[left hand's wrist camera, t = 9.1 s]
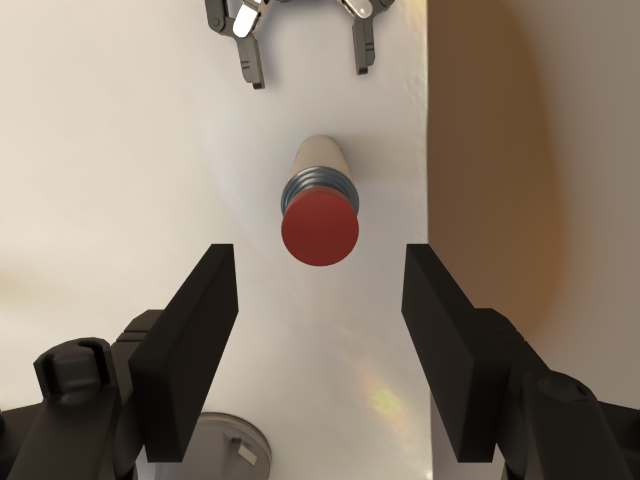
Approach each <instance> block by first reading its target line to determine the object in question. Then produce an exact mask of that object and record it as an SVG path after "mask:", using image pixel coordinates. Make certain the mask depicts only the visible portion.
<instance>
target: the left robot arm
mask: <svg viewBox="0 0 640 480" xmlns="http://www.w3.org/2000/svg"><path fill="white" fill-rule="evenodd" d="M238 312H239V309H238V297H237V285H236V273H235V260H234V248H233V244H211V246H210V247H209V248H208V250H207V251H206V253H205V254H204V255H203V257H202V258H201V260H200V261H199V262H198V264H197V265H196V266H195V268H194V269H193V271H192V272H191V273H190V275H189V276H188V278H187V279H186V280H185V282H184V283H183V284H182V286H181V287H180V289H179V290H178V291H177V293H176V294H175V296H174V297H173V298H172V300H171V301H170V302H169V304H168V305H167V307H166V308H165V309H164V310H147V311H145V312H144V313H142V314H141V315H139V316H138V317H136V318H134V319H133V320H132V321H131V323H130V324H129V325H128V326H127V327H126V329H125V330H124V333H121V335H120V336H119V337H118V338H117V339H116V342H114V343H113V344H112V345H111V347H110V344H109V343H108V342H107V341H105V340H104V339H100V338H95V337H90V338H79V339H75V340H71V341H67V342H64V343H62V344H59V345H57V346H55V347H52V348H51V349H49V350H48V351H46V352H45V353H43V354H42V355H40V356H39V357H38V359H37V360H36V361H35V362H34V363H33V365H34V368H35V371H36V375H37V378H38V381H39V385H40V388H41V391H42V395H43V398H44V399H43V401H42V403H38V404H35V405H30V406H25V407H21V408H16V409H11V410H7V411H2V412H1V410H0V480H138V474H137V468H136V463H135V461H136V459H137V457H138V455H139V453H140V451H141V449H142V447H143V445H145V450H146V455H147V460H148V463H156V469H155V480H268V477H269V472H270V465H271V452H270V448H269V446H268V443H267V441H266V440H265V438H264V437H263V436H262V434H261V433H260V432H259V431H258V430H257V429H255V428H254V427H253V426H251V425H250V424H248V423H247V422H245V421H243V420H241V419H238V418H236V417H232V416H229V415H224V414H216V413H207V414H200V413H201V410H202V408H203V405H204V402H205V400H206V397H207V394H208V392H209V389H210V386H211V384H212V381H213V378H214V376H215V373H216V370H217V368H218V365H219V362H220V360H221V357H222V354H223V352H224V349H225V346H226V344H227V341H228V338H229V336H230V333H231V330H232V328H233V325H234V322H235V320H236V317H237V314H238ZM401 312H402V314H403V317H404V320H405V322H406V325H407V328H408V330H409V333H410V336H411V338H412V341H413V344H414V346H415V349H416V352H417V354H418V357H419V360H420V362H421V365H422V368H423V370H424V373H425V376H426V378H427V381H428V384H429V386H430V389H431V392H432V394H433V397H434V400H435V402H436V405H437V408H438V410H439V413H440V416H441V418H442V421H443V424H444V426H445V429H446V432H447V434H448V437H449V440H450V442H451V445H452V448H453V450H454V453H455V456H456V458H457V461H458V462H459V463H492V460H493V455H494V450H495V445H496V443H497V445H498V447H499V449H500V451H501V453H502V455H503V457H504V459H505V463H504V468H503V473H502V477H501V480H640V410H637V409H632V408H628V407H623V406H618V405H614V404H608V403H604V402H601V401H598V400H597V398H596V397H595V395H594V394H593V393H592V391H591V390H590V389H589V388H588V387H586V386H585V385H584V384H582V383H581V382H580V381H578V380H576V379H574V378H572V377H570V376H568V375H566V374H563V373H559V372H556V371H552V370H550V369H549V368H548V367H547V365H546V364H545V363H544V362H543V360H542V359H541V358H540V357H539V356H538V355H537V353H536V352H535V351H534V350H533V349H532V347H531V346H530V345H529V344H528V342H527V341H524V338H523V336H522V335H521V334H520V333H519V332H518V331H516V328H515V327H514V326H513V325H512V323H511V322H510V321H509V320H508V319H507V318H506V317H505V316H503V315H502V314H500V313H498V312H497V311H495V310H494V309H492V308H474V307H473V305H472V304H471V303H470V301H469V300H468V298H467V297H466V296H465V294H464V293H463V291H462V290H461V289H460V287H459V286H458V284H457V283H456V282H455V280H454V279H453V278H452V276H451V275H450V273H449V272H448V271H447V269H446V268H445V267H444V265H443V264H442V262H441V261H440V260H439V258H438V257H437V255H436V254H435V253H434V251H433V250H432V248H431V247H430V246H429V244H407V248H406V260H405V272H404V285H403V297H402V309H401Z"/></svg>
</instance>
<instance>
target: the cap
mask: <svg viewBox="0 0 640 480" xmlns="http://www.w3.org/2000/svg"><path fill="white" fill-rule="evenodd" d="M281 233H282V238H283V242H284V244H285V246H286V248H287V250H288V251H289V252H290V253H291V254H292V255H293V256H294V257H295V258H296V259H298V260H299V261H301V262H303V263H305V264H308V265H312V266H328V265H332V264H335V263H337V262H339V261H341V260H342V259H344V258H345V257H346V256H347V255H348V254H349V253H350V252H351V251H352V249H353V248H354V246H355V244H356V242H357V239H358V233H359V225H358V220H357V217H356V214H355V211H354V208H353V206H352V204H351V202H350V201H349V199H348V198H347V197H346V196H345V195H344V194H342V193H341V192H339V191H338V190H336V189H333V188H330V187H325V186H314V187H310V188H307V189H304V190H302V191H301V192H299V193H298V194H296V195H295V196H294V197H293V198H292V200H291V201H290V202H289V204H288V206H287V208H286V211H285V214H284V217H283V221H282V226H281Z"/></svg>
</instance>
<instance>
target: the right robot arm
mask: <svg viewBox="0 0 640 480" xmlns="http://www.w3.org/2000/svg"><path fill="white" fill-rule="evenodd" d="M270 1H271V0H243V4H242V6H241V9H240V11H239V13H238V15H237V18H236V19H234V18H230V17H229V11H228V4H227V0H205V5H206V12H207V18H208V24H209V27H210V28H211V29H212V30H214V31H215V32H217V33H219V34H220V35H225V36H229V37H233V38H234V39H235V40H236V42H237V46H238V51H239V57H240V62H241V67H242V73H243V77H244V78H245V80H246V82H247V83H253V87H254V89H256V90H257V89H264V88H265V83H264V77H263V71H262V66H261V60H260V54H259V48H258V42H257V40H256V39H255V38H254V34H255V31H256V29H257V27H258V25H259V23H260V20H261V18H262V17H263V16H264V14H265V12H266V10H267V8H268V6H269V4H270ZM277 1H280V2H281V3H284V2H290V1H292V0H277ZM337 1H338V2H339V3H340V4H341V5H343V7H344V8H345V9H346V10H347V11H348V12H349V14H350V15H351V16H352V17H353V18H354V21H355V22H354V24H353V26H352V29H353V39H354V50H355V60H356V70H357V75H363V74H367V73H368V68H367V66H371V65H373V62H374V59H375V52H374V39H373V27H372V21H373V18H374V17H375V16H376V15H378V14H380V13H381V12H384V11H386V10H388V8H389V7H390V5H392V3H393V2H394V1H395V0H337Z"/></svg>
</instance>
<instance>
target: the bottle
mask: <svg viewBox="0 0 640 480" xmlns="http://www.w3.org/2000/svg"><path fill="white" fill-rule="evenodd" d="M314 186H325V187H330V188H333V189H336V190H338V191H339V192H341V193H342V194H344V195H345V196H346V197H347V198H348V199H349V201H350V202H351V204H352V206H353V208H354V211H355V214H356V217H357V215H358V210H359V197H358V193H357V190H356V187H355V185H354V182H353V180H352V177H351V174H350V172H349V169H348V166H347V164H346V161H345V159H344V156H343V153H342V151H341V148H340V146H339V145H338V144H337V142H336V141H334V140H333V139H332V138H330V137H327V136H323V135H317V136H313V137H310V138H308V139H307V140H306V141H304V142H303V144H302V145H301V146H300V148H299V151H298V153H297V156H296V159H295V161H294V164H293V166H292V169H291V172H290V174H289V177H288V180H287V182H286V185H285V188H284V190H283V193H282V198H281V211H282V214H283V217H284V214H285V211H286V208H287V206H288V204H289V202H290V201H291V200H292V198H293V197H294V196H295V195H296V194H298V193H299V192H301V191H302V190H304V189H307V188H310V187H314Z"/></svg>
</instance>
